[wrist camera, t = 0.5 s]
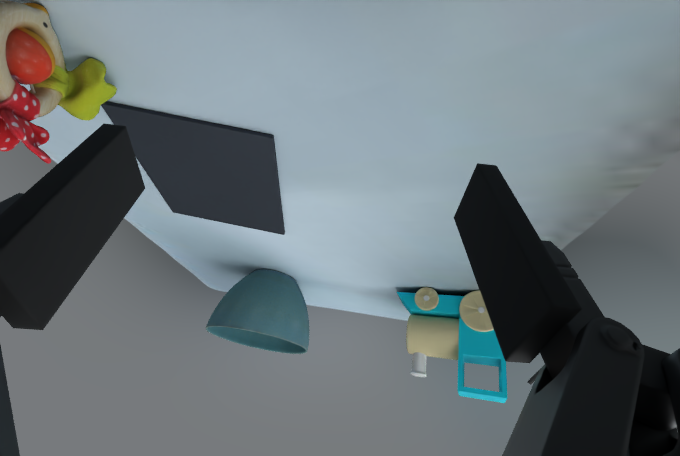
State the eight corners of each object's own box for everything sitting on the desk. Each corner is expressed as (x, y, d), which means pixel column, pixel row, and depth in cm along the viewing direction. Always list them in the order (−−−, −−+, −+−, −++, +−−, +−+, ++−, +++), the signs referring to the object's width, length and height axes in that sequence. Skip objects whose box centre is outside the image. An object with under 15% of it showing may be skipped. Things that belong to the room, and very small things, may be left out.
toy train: (396, 285, 60) (386, 378, 53) (503, 291, 54) (507, 397, 47) (404, 300, 67) (395, 385, 60) (500, 307, 61) (504, 403, 54)
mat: (101, 100, 32) (99, 103, 32) (273, 135, 32) (272, 138, 32) (174, 209, 50) (172, 212, 50) (284, 232, 50) (284, 234, 50)
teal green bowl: (213, 251, 62) (186, 320, 56) (313, 265, 59) (296, 339, 53) (246, 286, 78) (228, 343, 72) (326, 298, 75) (314, 358, 69)
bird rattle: (15, -16, 26) (59, 106, 32) (-177, 2, 17) (-68, 165, 23) (98, -1, 26) (128, 119, 31) (-53, 24, 17) (25, 182, 23)
